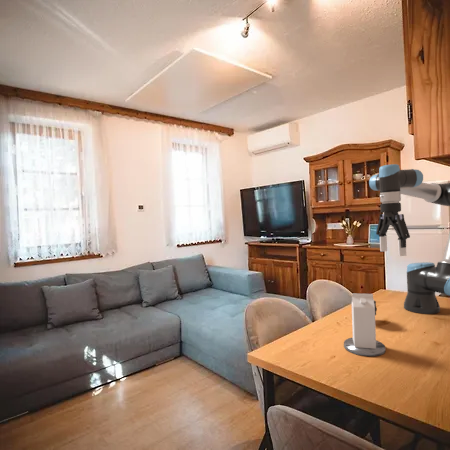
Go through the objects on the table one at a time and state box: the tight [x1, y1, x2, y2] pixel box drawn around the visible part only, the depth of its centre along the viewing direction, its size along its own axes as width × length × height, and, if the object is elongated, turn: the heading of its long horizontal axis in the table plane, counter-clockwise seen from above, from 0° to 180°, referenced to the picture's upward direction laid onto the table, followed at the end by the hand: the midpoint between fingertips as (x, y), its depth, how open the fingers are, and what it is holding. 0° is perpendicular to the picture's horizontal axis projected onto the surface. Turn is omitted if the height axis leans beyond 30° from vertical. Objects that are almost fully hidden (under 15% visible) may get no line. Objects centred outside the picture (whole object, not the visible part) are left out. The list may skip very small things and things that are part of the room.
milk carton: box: [351, 293, 377, 349], centre depth 116 cm, size 7×7×19 cm
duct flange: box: [343, 337, 386, 358], centre depth 116 cm, size 14×14×1 cm
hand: (392, 253), depth 131 cm, fingers open, 13 cm apart
